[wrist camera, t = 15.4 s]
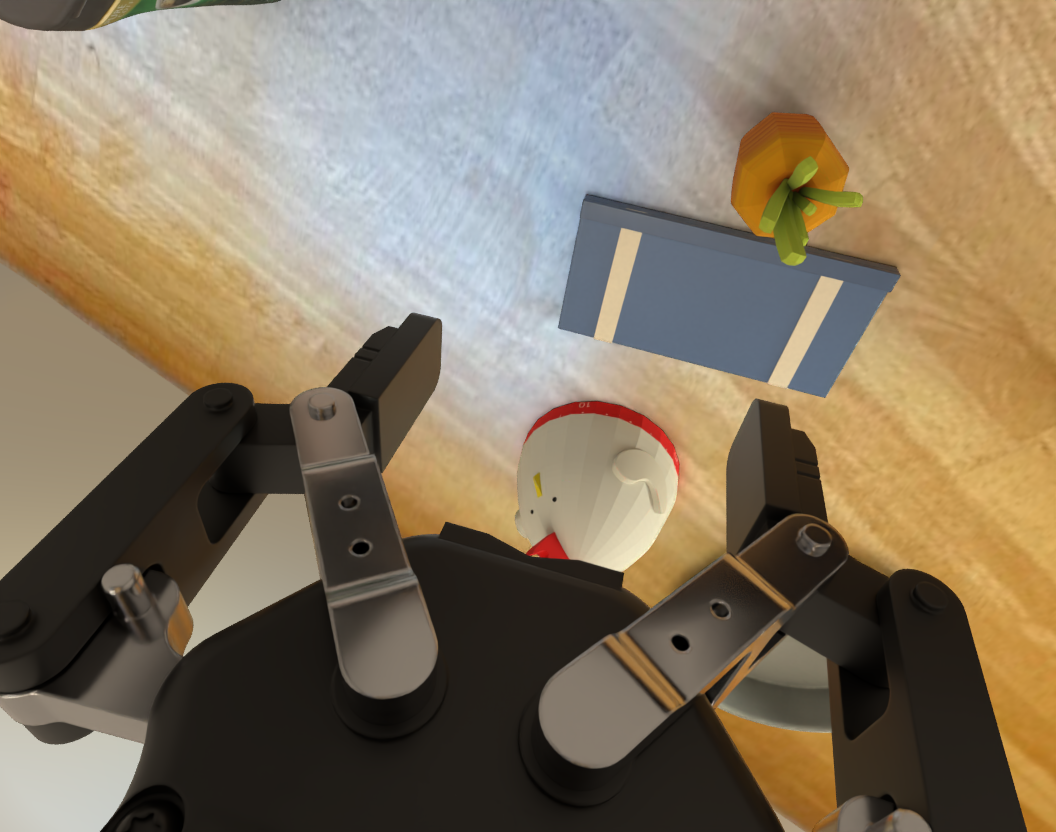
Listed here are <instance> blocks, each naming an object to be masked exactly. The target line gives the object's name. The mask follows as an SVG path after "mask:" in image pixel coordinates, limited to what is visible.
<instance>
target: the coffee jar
mask: <svg viewBox="0 0 1056 832" xmlns="http://www.w3.org/2000/svg"><path fill="white" fill-rule="evenodd" d="M278 1H281V0H0V19H1V20H4V21H6V22H8V23H10V24H13V25H16V26H19V27H23V28H26V29H33V30H42V31H85V30H91V29H95V28H99V27H102V26H105V25H108V24H110V23H113V22H116V21H118V20H121V19H124V18H127V17H130V16H133V15H136V14H140V13H145V12H150V11H156V10H164V9H174V8H188V7H201V6H215V5H255V4H265V3H274V2H278Z"/></svg>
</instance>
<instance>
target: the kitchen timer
mask: <svg viewBox="0 0 1056 832" xmlns="http://www.w3.org/2000/svg"><path fill="white" fill-rule="evenodd" d="M678 476H679V461H678V458H677V454H676V451H675V448H674V446H673V444H672V443H671V442H670V440H669V439H668V438H667V436H666V435H665V433H664V432H663V431H662V429H660V428H659V427H658V426H656V425H655V424H654V423H653V422H651V421H650V420H649V419H647V418H646V417H645V416H643V415H641V414H639V413H637V412H634V411H632V410H630V409H627V408H625V407H623V406H620V405H614V404H609V403H604V402H599V401H593V402H574V403H571V404H567V405H564V406H561V407H558V408H554V409H553V410H551V411H550V412H548V413H547V414H545V415H544V416H542V417H541V418H539V419H538V420H537V422H536V423H535V424H534V426H533V427H532V429H531V430H530V431H529V433H528V435H527V437H526V440H525V442H524V445H523V449H522V453H521V457H520V461H519V465H518V471H517V489H518V503H519V510H518V511H517V513H516V515H515V523H516V527H517V530H518V532H519V533H520V534H521V535H522V536H523V537H525V538H528V539H529V541H530V543H531V545H532V548H531V549H530V550H529V551H528V552H527V553H526V555H529V556H532V555H535V554H537V555H538V556H539V557H542V558H557V559H572V560H581V561H585V562H588V563H591V564H595V565H598V566H602V567H605V568H609V569H612V570H616V571H619V572H622V571H624V570H625V569H627V568H628V567H630V566H631V565H632V564H633V563H634V562H635V561H637V560H638V559H639V558H640V557H641V556H642V555H643V554H644V553H646V552H647V550H648V549H649V548H650V547H651V545H652V544H653V542H654V541H655V539H656V537H657V536H658V534H659V532H660V530H661V529H662V527H663V525H664V523H665V521H666V519H667V517H668V515H669V514H670V512H671V510H672V508H673V505H674V503H675V500H676V496H677V488H678Z"/></svg>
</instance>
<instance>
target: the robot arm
mask: <svg viewBox="0 0 1056 832" xmlns="http://www.w3.org/2000/svg"><path fill="white" fill-rule="evenodd" d="M441 344H442V322H441V320H440V319H438V318H434V317H429V316H425V315H421V314H417V313H411V314H410V315H409V316H408V317H407V318H406V319H405V321H404V322H403V323H402V324H401V326H400V327H399V328H395V327H391V326H388V327H386V328H384V329H382V330H380V331H378V332H376V333H374V334H372V335H371V337H370V338H369V339H368V340H367V341H366V342H365V343H364V345H363V346H362V348H360V349H359V350H358V352H357V353H356V354H355V356H354V358H353V357H352V358H351V360H350V361H349V362H348V363H347V364H346V365H345V367H344V368H343V369H342V370H341V371H340V372H339V373H338V375H337V376H336V377H335V378H334V379H333V380H332V382H331V383H330V384H329V385H328V386H327V387H321V388H314V389H310V390H307V391H305V392H303V393H301V394H299V395H298V396H297V397H295V398H294V400H293V401H292V402H291V404H261V403H254V399H253V395H252V393H251V392H250V390H249V389H247V388H246V387H244V386H242V385H238V384H234V383H217V384H212V385H208V386H205V387H202V388H200V389H198V390H196V391H195V392H193V393H192V394H191V395H190V396H189V397H188V398H187V399H186V400H185V401H184V402H183V403H182V404H180V405H179V406H178V408H176V409H175V410H174V411H173V412H172V413H171V414H170V415H169V416H168V417H167V418H166V419H165V420H164V421H163V422H162V423H161V424H160V425H159V426H158V427H157V428H156V429H155V430H154V431H153V432H152V433H151V434H150V435H149V436H148V437H147V438H146V439H145V440H144V441H143V442H142V443H141V444H140V445H138V446H137V448H135V449H134V450H133V452H131V453H130V454H129V455H128V457H126V458H125V459H124V460H123V461H122V462H121V463H120V464H119V465H118V466H117V467H116V468H115V469H114V470H113V471H112V472H111V473H110V474H109V475H108V476H107V477H106V478H105V479H104V480H103V481H102V482H101V483H100V484H99V485H98V486H96V488H95V489H93V490H92V492H90V493H89V494H88V495H87V496H86V497H85V498H84V499H83V500H82V501H81V502H80V503H79V504H78V505H77V506H76V507H75V508H74V509H73V510H72V511H71V512H70V513H69V514H68V515H67V516H66V517H65V518H64V519H63V520H62V521H61V522H60V523H59V524H58V525H57V526H56V527H55V528H53V529H52V530H51V531H50V532H49V533H48V534H47V535H46V536H45V537H44V538H43V539H42V540H41V541H40V542H39V543H38V544H37V545H36V546H35V547H34V548H33V549H32V550H31V551H30V552H29V553H28V554H27V555H26V556H25V557H24V558H23V559H22V560H21V561H20V562H19V563H18V564H17V565H16V566H15V567H14V568H13V569H11V570H10V571H9V572H8V573H7V574H6V575H5V576H4V577H3V578H2V579H1V580H0V707H1V708H2V709H3V710H4V711H5V712H6V713H7V714H8V715H9V716H10V717H11V718H13V719H14V720H15V721H16V722H18V723H20V724H23V725H24V726H25V727H26V728H27V729H28V730H29V731H30V732H31V733H32V734H33V735H34V736H35V737H36V738H37V739H38V740H40V741H42V742H44V743H48V744H65V743H69V742H73V741H75V740H78V739H80V738H83V737H85V736H87V735H88V734H90V733H92V732H93V731H98V732H102V733H106V734H109V735H113V736H116V737H121V738H124V739H128V740H131V741H135V742H139V743H143V744H144V747H143V750H142V754H141V758H140V761H139V764H138V767H137V769H136V772H135V775H134V778H133V780H132V782H131V784H130V786H129V789H128V791H127V793H126V795H125V797H124V799H123V801H122V803H121V804H120V806H119V808H118V809H117V811H116V812H115V813H114V815H113V816H112V818H111V819H110V820H109V821H108V823H107V824H106V825H105V826H104V827H103V829H102V830H101V831H100V832H785V831H784V829H783V827H782V825H781V823H780V821H779V819H778V817H777V816H776V814H775V812H774V810H773V809H772V807H771V805H770V804H769V802H768V800H767V799H766V797H765V795H764V793H763V792H762V790H761V788H760V787H759V785H758V783H757V782H756V780H755V778H754V777H753V775H752V773H751V771H750V770H749V768H748V766H747V765H746V763H745V761H744V760H743V758H742V756H741V754H740V753H739V751H738V749H737V748H736V746H735V744H734V743H733V741H732V739H731V738H730V736H729V734H728V732H727V731H726V729H725V727H724V726H723V724H722V722H721V721H720V719H719V717H718V716H717V714H716V712H715V709H716V708H717V707H718V706H719V704H720V703H721V702H722V701H723V700H724V699H725V698H726V697H727V696H728V695H729V694H730V692H731V691H732V690H733V689H734V688H735V687H736V686H737V685H738V683H739V682H740V681H741V680H742V679H743V678H744V677H745V676H747V675H748V674H749V673H750V672H751V671H752V670H753V669H754V668H755V667H756V666H757V665H758V664H759V663H760V662H761V661H762V660H763V659H764V658H765V657H766V656H767V655H768V654H769V653H770V652H772V651H773V650H774V649H775V648H776V647H777V646H778V645H779V644H780V643H781V642H782V641H783V640H784V639H785V638H786V637H787V636H790V637H792V638H793V639H795V640H797V641H798V642H800V643H802V644H804V645H805V646H807V647H809V648H810V649H812V650H814V651H815V652H817V653H819V654H820V655H822V656H824V657H826V658H827V672H828V687H829V701H830V715H831V729H832V743H833V757H834V771H835V785H836V800H837V809H835V810H834V811H833V812H831V813H830V814H828V815H827V816H826V817H824V818H823V819H821V820H820V821H819V822H818V823H817V824H816V825H815V826H814V828H813V830H812V832H1027V829H1026V825H1025V822H1024V818H1023V815H1022V811H1021V808H1020V804H1019V800H1018V797H1017V793H1016V790H1015V786H1014V783H1013V779H1012V776H1011V772H1010V768H1009V765H1008V761H1007V758H1006V754H1005V751H1004V747H1003V744H1002V740H1001V736H1000V733H999V729H998V726H997V722H996V719H995V715H994V712H993V708H992V704H991V701H990V697H989V694H988V690H987V687H986V683H985V679H984V676H983V672H982V669H981V665H980V662H979V658H978V655H977V651H976V647H975V644H974V640H973V637H972V633H971V630H970V626H969V623H968V619H967V615H966V612H965V609H964V607H963V605H962V603H961V601H960V600H959V598H958V597H957V596H956V594H955V593H954V592H953V591H952V590H951V589H950V588H949V587H948V586H946V585H945V584H944V583H942V582H941V581H940V580H938V579H937V578H935V577H933V576H931V575H929V574H927V573H924V572H922V571H918V570H914V569H902V570H898V571H896V572H895V573H894V574H893V575H892V576H891V577H890V578H889V577H887V576H885V575H883V574H881V573H879V572H877V571H875V570H873V569H871V568H869V567H868V566H866V565H864V564H862V563H860V562H858V561H857V560H855V559H854V558H852V557H851V556H850V555H848V554H849V551H848V547H847V544H846V542H845V540H844V538H843V537H842V536H841V534H840V533H839V532H838V531H837V530H836V529H835V528H834V527H832V526H831V525H830V524H828V519H827V514H826V508H825V502H824V496H823V490H822V484H821V480H819V479H820V473H819V467H817V465H818V461H817V455H816V449H815V447H814V445H813V444H812V443H811V441H810V440H809V438H808V437H807V435H806V434H805V432H803V431H799V430H795V429H791V424H790V416H789V409H788V407H787V406H784V405H780V404H776V403H772V402H768V401H764V400H760V399H755V400H754V401H753V402H752V404H751V406H750V408H749V410H748V412H747V414H746V416H745V418H744V421H743V423H742V425H741V427H740V429H739V431H738V433H737V435H736V437H735V440H734V442H733V444H732V446H731V449H730V452H729V456H728V460H727V469H726V511H727V553H725V554H723V555H722V556H721V557H719V558H718V559H716V560H715V561H714V562H712V563H711V564H710V565H708V566H707V567H706V568H704V569H703V570H702V571H700V572H699V573H698V574H696V575H695V576H694V577H692V578H691V579H690V580H688V581H687V582H686V583H684V584H683V585H682V586H680V587H679V588H678V589H676V590H675V591H674V592H672V593H671V594H670V595H669V596H667V597H666V598H665V599H663V600H662V601H661V602H659V603H658V604H657V605H655V606H654V607H653V608H650V607H649V606H648V605H647V604H645V603H644V602H643V601H642V600H641V599H640V598H638V597H637V596H635V595H634V594H633V593H631V592H630V591H628V590H626V589H624V588H623V587H622V583H623V576H624V573H623V572H619V571H616V570H612V569H609V568H605V567H602V566H598V565H595V564H591V563H588V562H585V561H581V560H572V559H557V558H542V557H532V556H529V555H526V554H524V553H523V552H521V551H519V550H517V549H515V548H513V547H512V546H510V545H508V544H506V543H504V542H502V541H501V540H499V539H497V538H495V537H493V536H491V535H490V534H487V533H484V532H480V531H477V530H473V529H470V528H466V527H463V526H459V525H456V524H452V523H449V522H445V524H444V527H443V529H442V531H441V533H440V534H427V535H417V536H411V537H407V538H403V539H402V538H401V534H400V531H399V528H398V525H397V522H396V519H395V515H394V512H393V509H392V506H391V503H390V500H389V497H388V493H387V490H386V487H385V484H384V481H383V478H382V475H381V473H383V471H384V470H385V468H386V466H387V465H388V463H389V462H390V460H391V458H392V457H393V455H394V454H395V452H396V450H397V449H398V447H399V446H400V444H401V443H402V441H403V439H404V438H405V436H406V435H407V433H408V431H409V430H410V428H411V427H412V425H413V423H414V422H415V420H416V419H417V417H418V416H419V414H420V412H421V411H422V409H423V408H424V406H425V404H426V403H427V401H428V400H429V398H430V396H431V395H432V393H433V392H434V390H435V388H436V385H437V383H438V379H439V375H440V369H441ZM268 494H304V496H305V501H306V506H307V511H308V517H309V522H310V527H311V532H312V537H313V543H314V548H315V553H316V559H317V564H318V569H319V575H320V580H318V581H316V582H314V583H312V584H310V585H308V586H306V587H304V588H303V589H301V590H299V591H297V592H295V593H293V594H291V595H289V596H287V597H285V598H283V599H281V600H279V601H278V602H276V603H274V604H272V605H270V606H268V607H266V608H264V609H262V610H260V611H259V612H256V613H254V614H253V615H251V616H249V617H247V618H245V619H243V620H241V621H239V622H237V623H235V624H233V625H231V626H229V627H227V628H226V629H224V630H222V631H220V632H218V633H216V634H214V635H212V636H211V637H209V638H207V639H205V640H204V641H202V642H201V643H200V644H198V645H197V646H196V647H194V648H193V649H192V650H191V651H190V652H188V653H187V654H186V655H185V656H184V657H183V653H184V650H185V648H186V645H187V644H188V642H189V639H190V638H191V635H192V631H193V619H192V616H191V614H190V611H189V609H188V606H189V604H190V603H191V602H192V600H193V599H194V597H195V596H196V595H197V593H198V592H199V590H200V589H201V588H202V586H203V585H204V583H205V582H206V581H207V579H208V578H209V576H210V575H211V574H212V572H213V571H214V569H215V568H216V567H217V565H218V564H219V562H220V561H221V560H222V558H223V557H224V555H225V554H226V553H227V551H228V550H229V548H230V547H231V546H232V544H233V542H234V541H235V540H236V538H237V537H238V536H239V534H240V533H241V531H242V530H243V528H244V527H245V526H246V524H247V523H248V522H249V520H250V519H251V517H252V516H253V514H254V513H255V512H256V510H257V509H258V508H259V506H260V505H261V503H262V502H263V500H264V499H265V498H266V496H267V495H268Z"/></svg>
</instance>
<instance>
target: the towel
mask: <svg viewBox="0 0 1056 832" xmlns="http://www.w3.org/2000/svg"><path fill="white" fill-rule="evenodd" d="M804 249H805V252H806V256H807V257H806V258H805V260H804V261H803V262H802V263H800V264H798V265H796V266H792V265H787V264H785V263H783V262H782V261H781V259H780V256H779V253H778V250H777V247H776V242H775V239H773V238H769V237H762V236H756V235H755V234H752V233H748V232H744V231H739V230H735V229H731V228H727V227H723V226H718V225H714V224H710V223H706V222H701V221H697V220H693V219H689V218H684V217H680V216H676V215H672V214H667V213H663V212H659V211H655V210H650V209H646V208H642V207H638V206H633V205H629V204H625V203H621V202H616V201H612V200H608V199H604V198H599V197H595V196H591V195H586V196H585V198H584V200H583V204H582V209H581V214H580V222H579V227H578V232H577V237H576V242H575V247H574V252H573V257H572V262H571V266H570V271H569V276H568V281H567V286H566V291H565V296H564V301H563V306H562V311H561V316H560V321H559V326H558V328H559V329H563V330H567V331H570V332H574V333H578V334H582V335H586V336H590V337H593V338H594V339H597V340H601V341H605V342H609V343H612V342H613V343H616V344H620V345H624V346H628V347H632V348H636V349H639V350H643V351H647V352H651V353H655V354H659V355H663V356H666V357H670V358H674V359H678V360H682V361H686V362H689V363H693V364H697V365H701V366H705V367H709V368H712V369H716V370H720V371H724V372H728V373H732V374H735V375H739V376H743V377H747V378H751V379H755V380H758V381H762V382H766V383H767V384H770V385H773V386H777V387H781V388H785V389H787V388H789V389H793V390H797V391H801V392H804V393H808V394H812V395H816V396H820V397H824V398H825V397H826V396H827V394H828V392H829V391H830V389H831V387H832V386H833V384H834V382H835V381H836V379H837V377H838V375H839V374H840V372H841V370H842V369H843V367H844V365H845V364H846V362H847V360H848V359H849V357H850V355H851V353H852V352H853V350H854V348H855V347H856V345H857V343H858V342H859V340H860V338H861V337H862V335H863V333H864V331H865V330H866V328H867V326H868V325H869V323H870V321H871V320H872V318H873V316H874V315H875V313H876V311H877V309H878V308H879V306H880V304H881V303H882V301H883V299H884V298H885V296H886V294H887V293H888V292H891V291H892V289H893V288H894V286H895V284H896V283H897V281H898V279H899V278H900V276H901V275H900V273H899V271H898V269H897V268H896V267H892V266H888V265H884V264H880V263H875V262H871V261H867V260H863V259H858V258H854V257H850V256H846V255H841V254H837V253H833V252H829V251H824V250H820V249H816V248H812V247H807V246H804Z"/></svg>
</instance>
